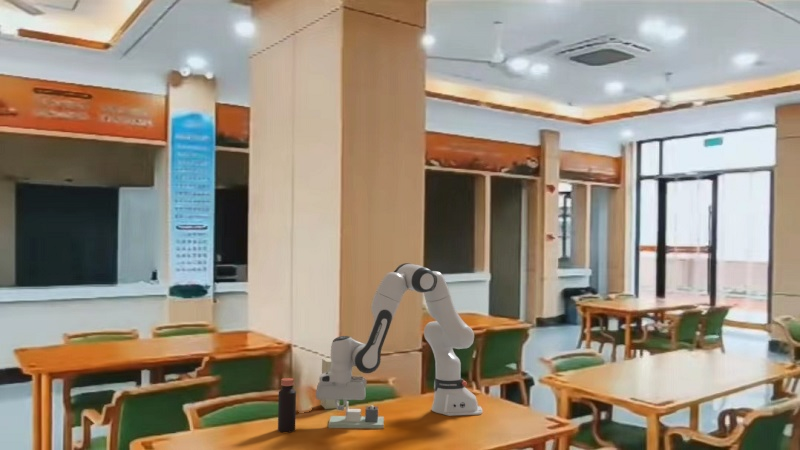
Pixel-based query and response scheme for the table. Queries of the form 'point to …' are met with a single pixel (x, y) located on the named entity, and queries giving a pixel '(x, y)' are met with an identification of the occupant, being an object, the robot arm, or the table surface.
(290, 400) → the bottle
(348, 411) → the cover
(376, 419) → the collar
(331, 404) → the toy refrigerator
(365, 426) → the base
